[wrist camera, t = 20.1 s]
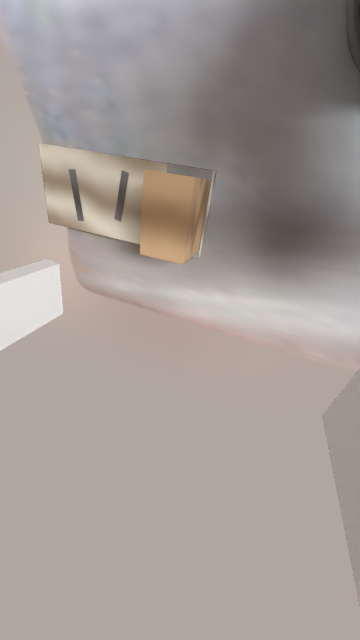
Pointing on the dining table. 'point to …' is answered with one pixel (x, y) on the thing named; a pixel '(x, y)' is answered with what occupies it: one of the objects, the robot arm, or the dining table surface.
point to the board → (103, 190)
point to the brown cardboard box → (172, 215)
